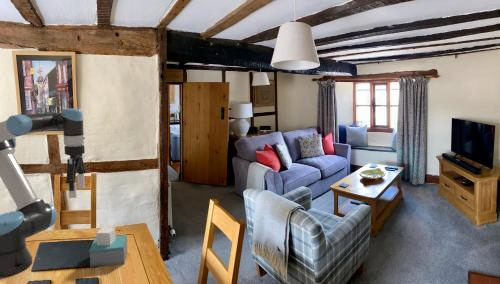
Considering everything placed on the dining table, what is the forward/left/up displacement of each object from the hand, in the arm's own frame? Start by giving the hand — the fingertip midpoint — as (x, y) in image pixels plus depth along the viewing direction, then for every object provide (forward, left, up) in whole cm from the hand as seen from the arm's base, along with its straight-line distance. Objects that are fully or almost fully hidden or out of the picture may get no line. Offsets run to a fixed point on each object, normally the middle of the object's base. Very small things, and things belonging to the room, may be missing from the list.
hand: (77, 192), depth 139 cm
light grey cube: (+11, 0, -25) cm, 27 cm away
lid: (+12, 0, -25) cm, 28 cm away
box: (+12, 0, -33) cm, 35 cm away
